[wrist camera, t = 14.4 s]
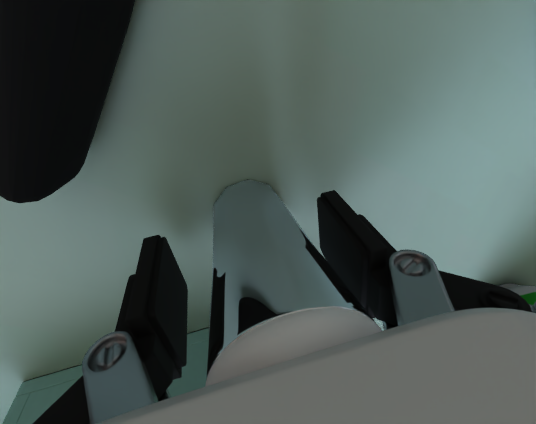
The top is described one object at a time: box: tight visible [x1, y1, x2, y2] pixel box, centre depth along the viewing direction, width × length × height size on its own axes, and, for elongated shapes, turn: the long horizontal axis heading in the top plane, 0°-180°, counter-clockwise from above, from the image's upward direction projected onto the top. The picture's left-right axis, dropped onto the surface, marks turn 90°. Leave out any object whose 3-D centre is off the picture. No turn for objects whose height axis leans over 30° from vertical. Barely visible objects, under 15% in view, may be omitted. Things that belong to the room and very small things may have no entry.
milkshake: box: [205, 179, 382, 387], centre depth 10 cm, size 4×5×10 cm
